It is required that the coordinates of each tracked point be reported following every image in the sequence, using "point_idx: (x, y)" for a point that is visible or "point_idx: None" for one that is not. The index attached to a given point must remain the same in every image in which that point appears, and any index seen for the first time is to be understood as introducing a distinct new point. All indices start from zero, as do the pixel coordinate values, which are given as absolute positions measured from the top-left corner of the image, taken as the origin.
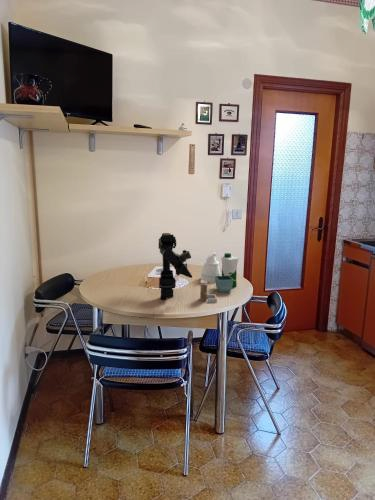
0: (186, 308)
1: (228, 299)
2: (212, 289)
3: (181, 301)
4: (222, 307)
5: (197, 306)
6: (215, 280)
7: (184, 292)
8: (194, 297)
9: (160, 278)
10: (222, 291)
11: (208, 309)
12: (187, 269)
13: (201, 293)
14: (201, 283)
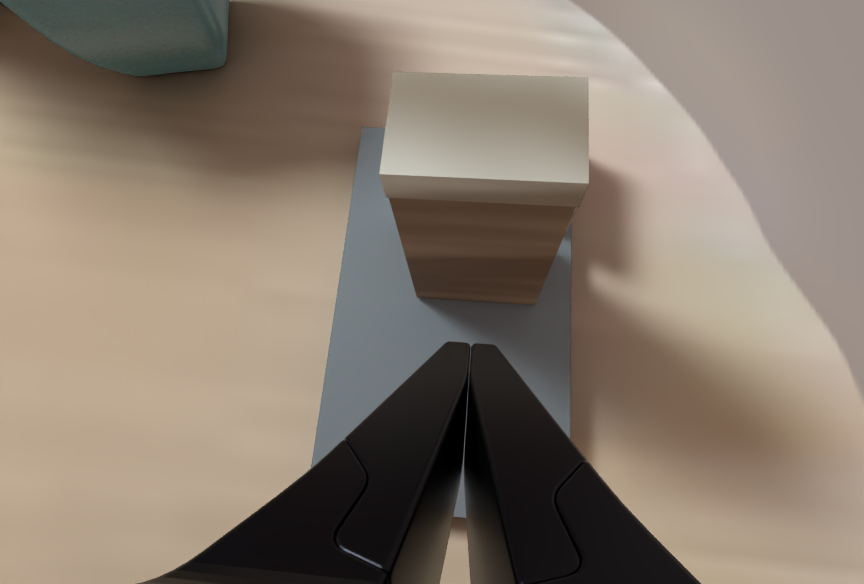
0: (748, 525)
1: (410, 26)
2: (53, 125)
3: (458, 565)
4: (664, 110)
5: (654, 367)
6: (21, 7)
7: (78, 473)
8: (307, 362)
9: None
10: (227, 31)
11: (748, 255)
12: (537, 565)
13: (551, 262)
14: (587, 186)
